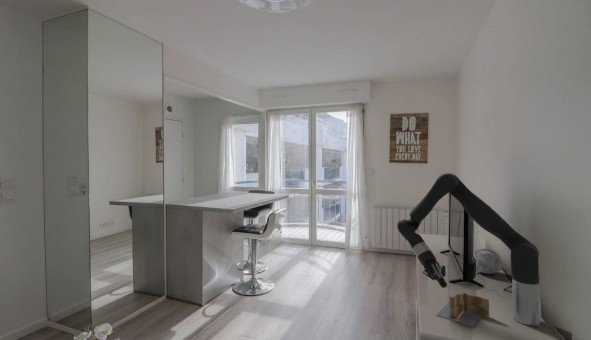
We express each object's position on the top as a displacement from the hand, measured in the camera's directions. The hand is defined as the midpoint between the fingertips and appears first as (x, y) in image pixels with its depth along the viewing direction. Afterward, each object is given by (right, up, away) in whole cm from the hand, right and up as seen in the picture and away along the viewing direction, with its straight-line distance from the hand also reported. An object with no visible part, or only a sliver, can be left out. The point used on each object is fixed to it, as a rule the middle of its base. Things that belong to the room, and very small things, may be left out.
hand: (445, 286), depth 138 cm
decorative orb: (+47, -9, +43) cm, 65 cm away
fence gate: (+4, -10, -4) cm, 12 cm away
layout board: (+5, -11, -3) cm, 13 cm away
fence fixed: (+12, -11, -3) cm, 16 cm away
